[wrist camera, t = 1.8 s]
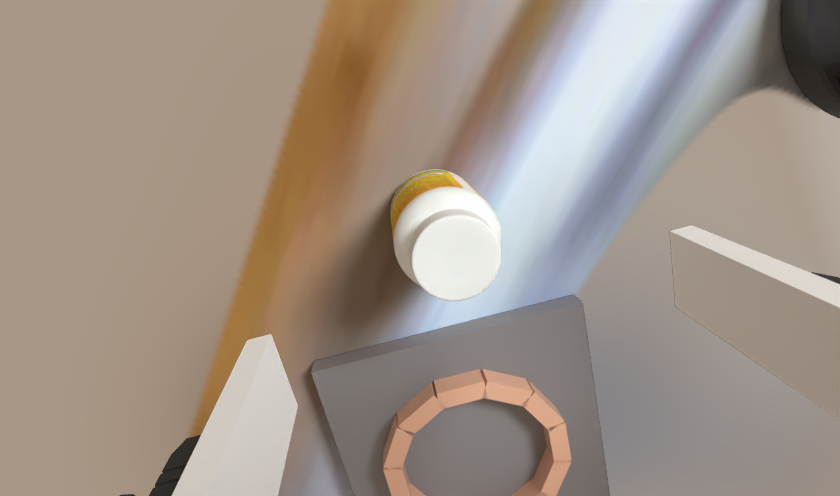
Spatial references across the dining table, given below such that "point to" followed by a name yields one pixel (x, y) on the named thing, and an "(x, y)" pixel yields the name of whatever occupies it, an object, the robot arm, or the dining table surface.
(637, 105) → the dining table surface
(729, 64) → the dining table surface
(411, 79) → the dining table surface
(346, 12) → the dining table surface
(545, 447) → the coaster stand
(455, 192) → the supplement bottle
